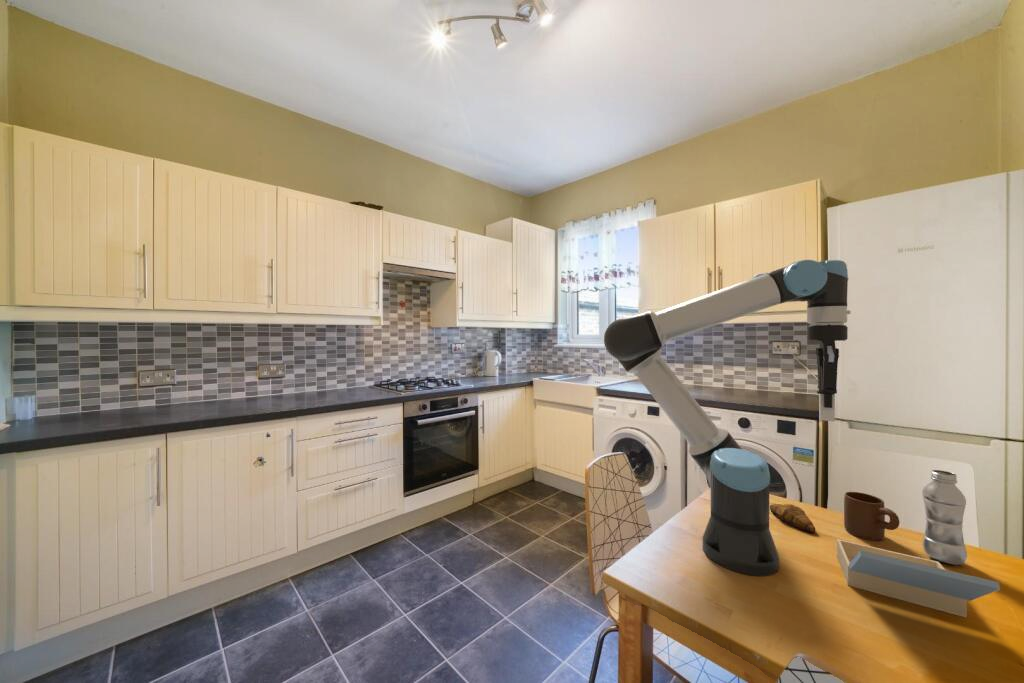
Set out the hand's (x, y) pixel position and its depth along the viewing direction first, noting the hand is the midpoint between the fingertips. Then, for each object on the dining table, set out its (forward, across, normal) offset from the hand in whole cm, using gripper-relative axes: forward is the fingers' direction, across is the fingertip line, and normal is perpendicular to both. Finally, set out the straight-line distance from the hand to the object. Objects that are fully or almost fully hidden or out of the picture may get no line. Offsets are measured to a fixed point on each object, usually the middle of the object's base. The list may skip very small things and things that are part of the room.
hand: (826, 420), depth 90 cm
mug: (+31, +9, -10) cm, 33 cm away
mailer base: (+30, -12, -9) cm, 34 cm away
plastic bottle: (+31, +5, -21) cm, 37 cm away
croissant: (+31, +9, +6) cm, 33 cm away
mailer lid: (+22, -23, -9) cm, 33 cm away
